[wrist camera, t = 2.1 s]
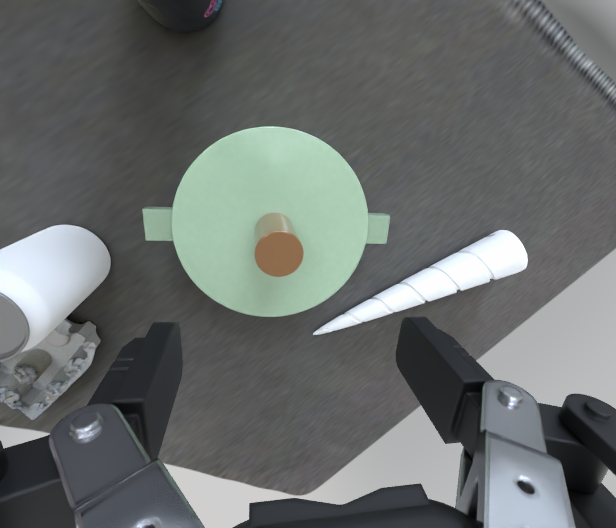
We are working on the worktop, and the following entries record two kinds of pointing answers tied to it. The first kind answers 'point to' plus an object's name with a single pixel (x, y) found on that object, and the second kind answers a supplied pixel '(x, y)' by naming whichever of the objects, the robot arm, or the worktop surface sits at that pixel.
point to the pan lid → (269, 221)
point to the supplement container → (183, 13)
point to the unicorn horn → (442, 279)
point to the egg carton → (47, 368)
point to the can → (46, 283)
